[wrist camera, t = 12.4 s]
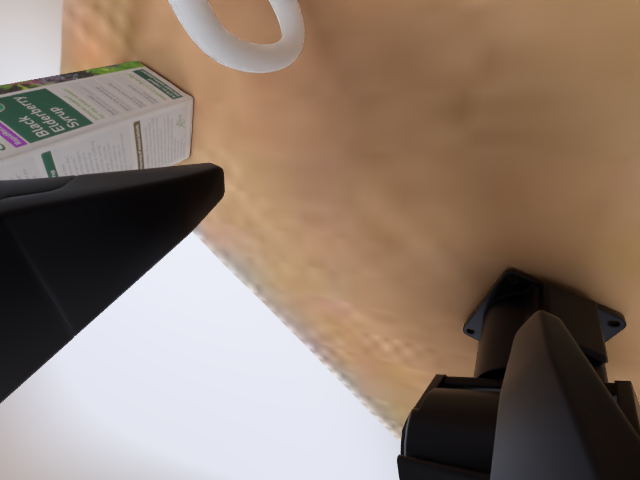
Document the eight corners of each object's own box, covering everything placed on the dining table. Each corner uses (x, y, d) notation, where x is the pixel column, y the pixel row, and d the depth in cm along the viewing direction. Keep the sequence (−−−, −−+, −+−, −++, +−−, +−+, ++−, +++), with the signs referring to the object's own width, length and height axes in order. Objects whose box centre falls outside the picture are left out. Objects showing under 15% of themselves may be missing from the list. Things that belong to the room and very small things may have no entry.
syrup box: (195, 96, 24) (-52, 168, 14) (191, 160, 29) (-3, 251, 18) (138, 59, 25) (-136, 101, 15) (142, 126, 29) (-71, 196, 19)
